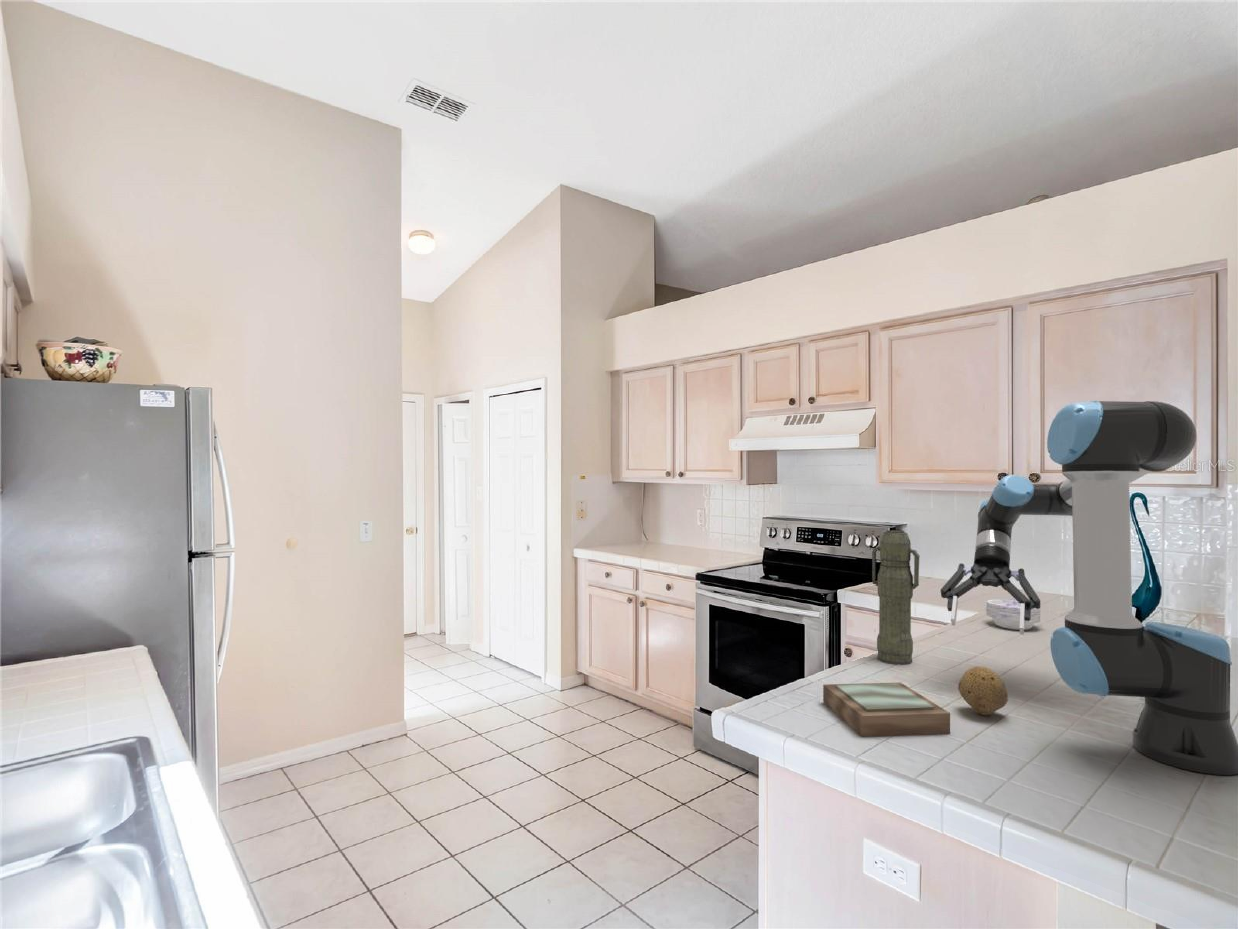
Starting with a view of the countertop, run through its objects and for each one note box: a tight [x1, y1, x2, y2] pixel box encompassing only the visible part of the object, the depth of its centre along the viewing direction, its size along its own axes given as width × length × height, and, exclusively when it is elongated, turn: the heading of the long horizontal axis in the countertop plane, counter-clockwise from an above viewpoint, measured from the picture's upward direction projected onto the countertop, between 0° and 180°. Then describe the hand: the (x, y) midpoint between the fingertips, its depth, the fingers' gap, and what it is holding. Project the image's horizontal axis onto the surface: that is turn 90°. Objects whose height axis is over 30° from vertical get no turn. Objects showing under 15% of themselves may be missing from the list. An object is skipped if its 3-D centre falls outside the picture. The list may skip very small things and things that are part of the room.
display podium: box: [822, 681, 951, 738], centre depth 133 cm, size 18×18×4 cm
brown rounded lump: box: [957, 666, 1009, 716], centre depth 135 cm, size 9×9×10 cm
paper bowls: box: [985, 599, 1041, 631], centre depth 211 cm, size 15×15×8 cm
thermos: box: [871, 529, 920, 666], centre depth 173 cm, size 9×12×35 cm
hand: (986, 626), depth 145 cm, fingers open, 13 cm apart
